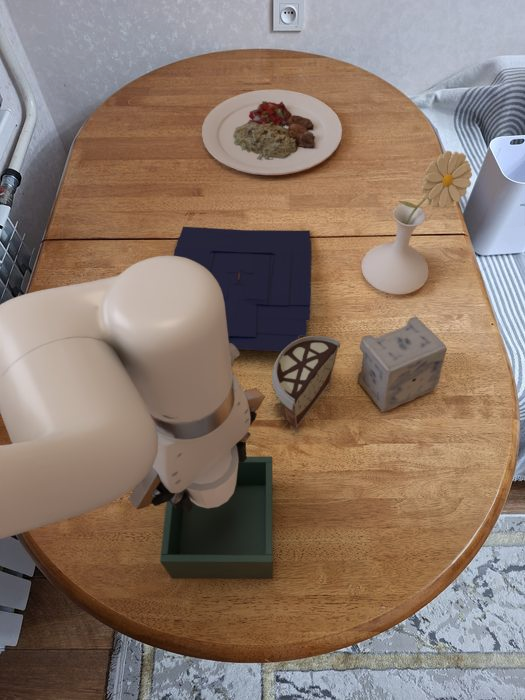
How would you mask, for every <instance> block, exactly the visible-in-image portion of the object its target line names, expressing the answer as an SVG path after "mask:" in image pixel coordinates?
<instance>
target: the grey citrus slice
mask: <svg viewBox="0 0 525 700" xmlns="http://www.w3.org/2000/svg"><path fill="white" fill-rule="evenodd" d="M340 348H341V342H340V340H337V339H335V338H332V337H330V336H325V335H308V336H302V337H301V338H300V337H299V338H298V340H296V341H294V342H292V343H291V344H289V345H288V346H287V347H286V348H285V349H284V350H283V351H280V353H279V354H278V356H277V358H276V360H275V363H274V365H273V369H272V372H271V382H272V388H273V390H274V393H275V394H276V397H277V398H278V399H279V403H280V404H279V405H280V410H281V413H282V415H283V418H284V419H285V420H286V422H287V423H288V424H289V425H290V426H291V427H292V428H294V429H297V428H298V427H299V426H300V424H301V423H302V422H303V421H304V419H305V417H307V415H308V414H309V412H310V410H312V408H313V407H314V405H316V403H317V401H318V400H319V399H320V397H321V396H322V394H324V392H325V390H326V389H327V388H328V387H329V385H330V384H331V380H332V376H333V372H334V368H335V363H336V358H337V354H338V350H339V349H340Z"/></svg>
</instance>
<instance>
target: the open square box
mask: <svg viewBox="0 0 525 700" xmlns="http://www.w3.org/2000/svg"><path fill="white" fill-rule="evenodd" d="M273 483H274V482H273V456H247V459H246V460H245V461H244V462H239V461H238V470H237V480H236V486H235V490H234V493H233V495H232V496H231V497H230V498H229V500H228V501H227V502H225V503H224V504H222V505H220V506H219V507H213V508H204V507H200V506H197V505H196V504H195V503H193V502H192V501H191V503H192V505H193V507H192V510H191V511H190V512H189V513H188V512H187V511H186V510H185V509H184V508H183V507H182V506H180V507H178V508H177V509H176V508H175V507H174V506H173V505H172V504H171V503H170V502H169V501H168V502H165V511H164V521H163V528H162V529H163V531H162V539H161V549H160V557H159V562H160V564H161V565H162V566H163V568H164V570H165V571H166V572H167V574H168V575H169V577H170V578H171V579H183V580H184V579H187V580H188V579H193V580H194V579H197V580H199V579H202V580H203V579H205V580H206V579H210V580H211V579H214V580H215V579H217V580H219V579H220V580H227V579H228V580H273V579H274V578H273V577H274V552H273V551H274V545H273V543H274V537H273V535H274V533H273V532H274V529H273V528H274V526H273V525H274V524H273V523H274V522H273V521H274V520H273V515H274V514H273V512H274V511H273V506H274V505H273V503H274V500H273V497H274V496H273V490H274V489H273Z"/></svg>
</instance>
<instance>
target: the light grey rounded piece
mask: <svg viewBox="0 0 525 700" xmlns="http://www.w3.org/2000/svg"><path fill="white" fill-rule="evenodd" d="M238 459H239V458H238V451H237V446H236V445H234V446H233V447H232V448H231V449H230V450H229V451H228V452H227V453H226V454H225V455H224V456H222V457H221V458H220V459H219V460H218V461H217V462H216V463H215V464H214V465H212V466H211V467H210V468H209V469H208V470H207V471H206V472H205V473H204V474H202V475H201V476H200V477H199V478H198V479H197V480H196V481H194V482H193V483H192V484H191V485H190V486H188V487H187V488H186V489H185V492H186V493H187V494H188V495H189V497H190V500H191V501H192V502H193V503H195V504H196V505H197V506H200V507H204V508H213V507H219V506H220V505H222V504H224V503H225V502H227V501H228V500H229V498H230V497H231V496H232V495H233V493H234V490H235V486H236V480H237V470H238Z"/></svg>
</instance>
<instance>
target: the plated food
mask: <svg viewBox="0 0 525 700" xmlns="http://www.w3.org/2000/svg"><path fill="white" fill-rule="evenodd" d="M342 135H343V128H342V122H341V120H340V118H339V116H338V115H337V113H336V112H335V111H334V110H333V109H332V108H331V106H329V105H328V104H326V103H325V102H323V101H322V100H320V99H318V98H316V97H314V96H311V95H308V94H305V93H302V92H299V91H293V90H286V89H260V90H252V91H247V92H244V93H239V94H237V95H235V96H232V97H230V98H227V99H226V100H223V101H222V102H221V103H218V104H217V105H216V106H215V107H214V108H212V109H211V110H210V112H209V113H208V114H207V115H206V117H205V119H204V121H203V124H202V126H201V139H202V142H203V145H204V147H205V149H206V150H207V152H208V153H209V154H210V155H211V156H212V157H213V158H215V160H217V161H218V162H220V163H222V164H223V165H224V166H226V167H228V168H231V169H234V170H236V171H238V172H243V173H247V174H251V175H260V176H281V175H289V174H294V173H295V174H296V173H299V172H302V171H306V170H309V169H311V168H314V167H316V166H317V165H320V164H322V163H323V162H324V161H326V160H327V159H329V158H330V157H331V156H332V155H333V153H334V152H335V151H336V150H337V149H338V147H339V145H340V143H341V141H342Z"/></svg>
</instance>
